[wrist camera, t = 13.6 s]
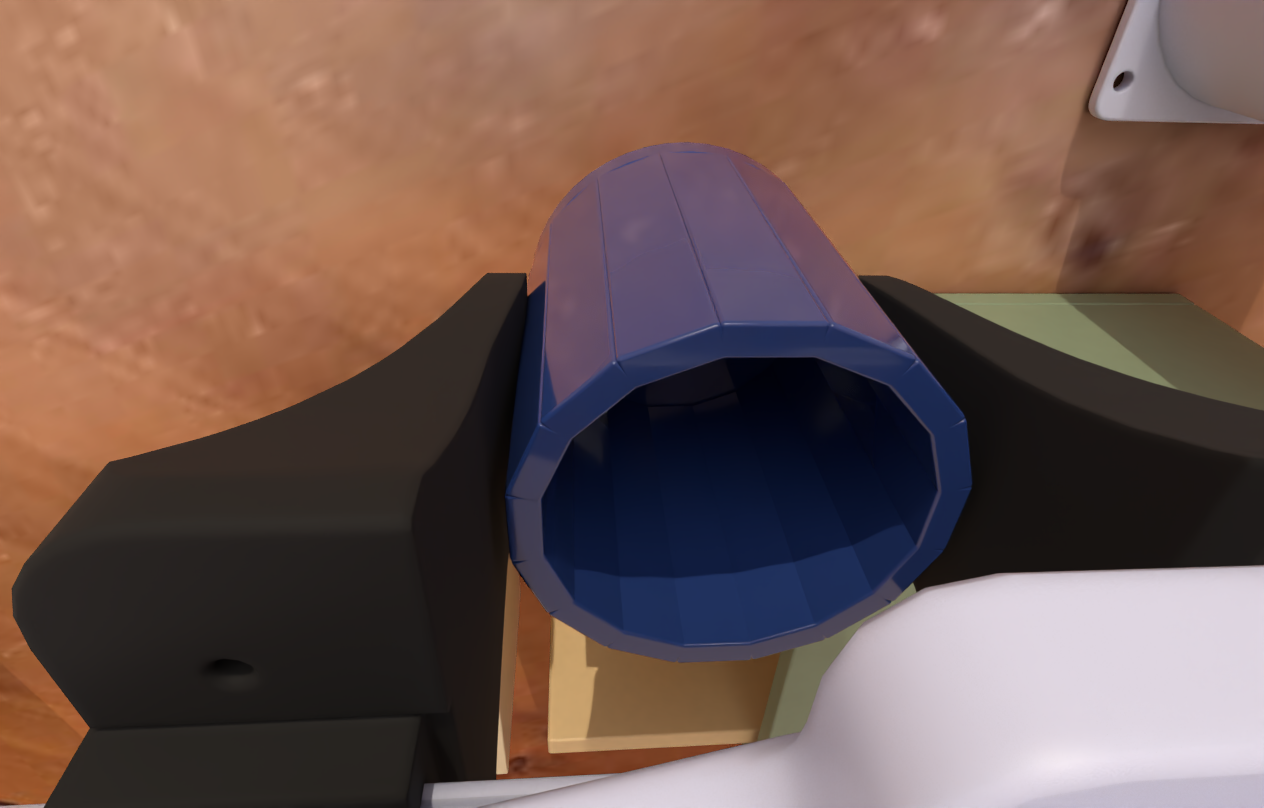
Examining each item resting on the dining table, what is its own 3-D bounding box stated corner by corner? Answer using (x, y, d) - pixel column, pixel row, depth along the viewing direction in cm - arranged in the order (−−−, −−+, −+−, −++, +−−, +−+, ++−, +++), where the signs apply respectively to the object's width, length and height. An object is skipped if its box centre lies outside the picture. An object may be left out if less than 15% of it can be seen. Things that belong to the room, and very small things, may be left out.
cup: (524, 137, 11) (487, 322, 6) (843, 145, 11) (1046, 323, 7) (537, 405, 14) (519, 671, 9) (789, 403, 14) (900, 655, 10)
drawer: (366, 597, 28) (311, 785, 22) (289, 323, 21) (176, 493, 15) (816, 582, 29) (878, 754, 23) (891, 322, 22) (1008, 475, 16)
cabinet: (707, 578, 30) (752, 798, 23) (750, 292, 22) (841, 486, 15) (1029, 567, 31) (1172, 773, 24) (1179, 292, 23) (1462, 472, 16)
